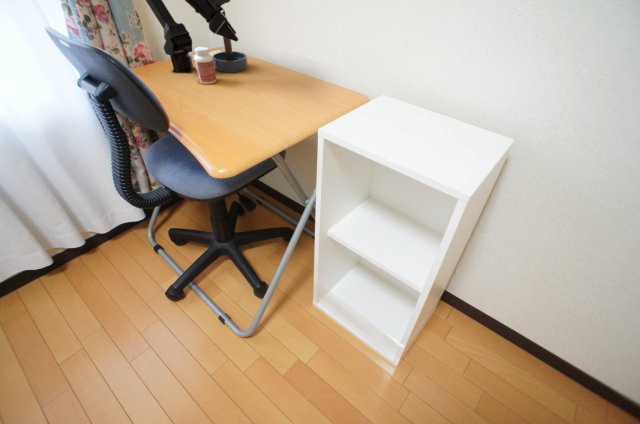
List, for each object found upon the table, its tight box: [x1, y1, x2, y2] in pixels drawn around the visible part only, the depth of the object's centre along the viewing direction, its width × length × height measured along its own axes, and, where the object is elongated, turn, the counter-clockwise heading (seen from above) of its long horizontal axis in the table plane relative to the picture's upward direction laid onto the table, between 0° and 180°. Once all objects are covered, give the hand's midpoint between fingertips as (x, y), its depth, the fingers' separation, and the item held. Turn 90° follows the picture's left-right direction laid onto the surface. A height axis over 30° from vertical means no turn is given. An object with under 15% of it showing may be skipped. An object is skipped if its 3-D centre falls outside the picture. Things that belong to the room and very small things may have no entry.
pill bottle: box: [194, 46, 217, 85], centre depth 110 cm, size 6×6×11 cm
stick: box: [222, 36, 234, 61], centre depth 121 cm, size 3×3×12 cm
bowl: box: [211, 50, 249, 74], centre depth 124 cm, size 13×13×4 cm
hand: (236, 37), depth 110 cm, fingers open, 9 cm apart
